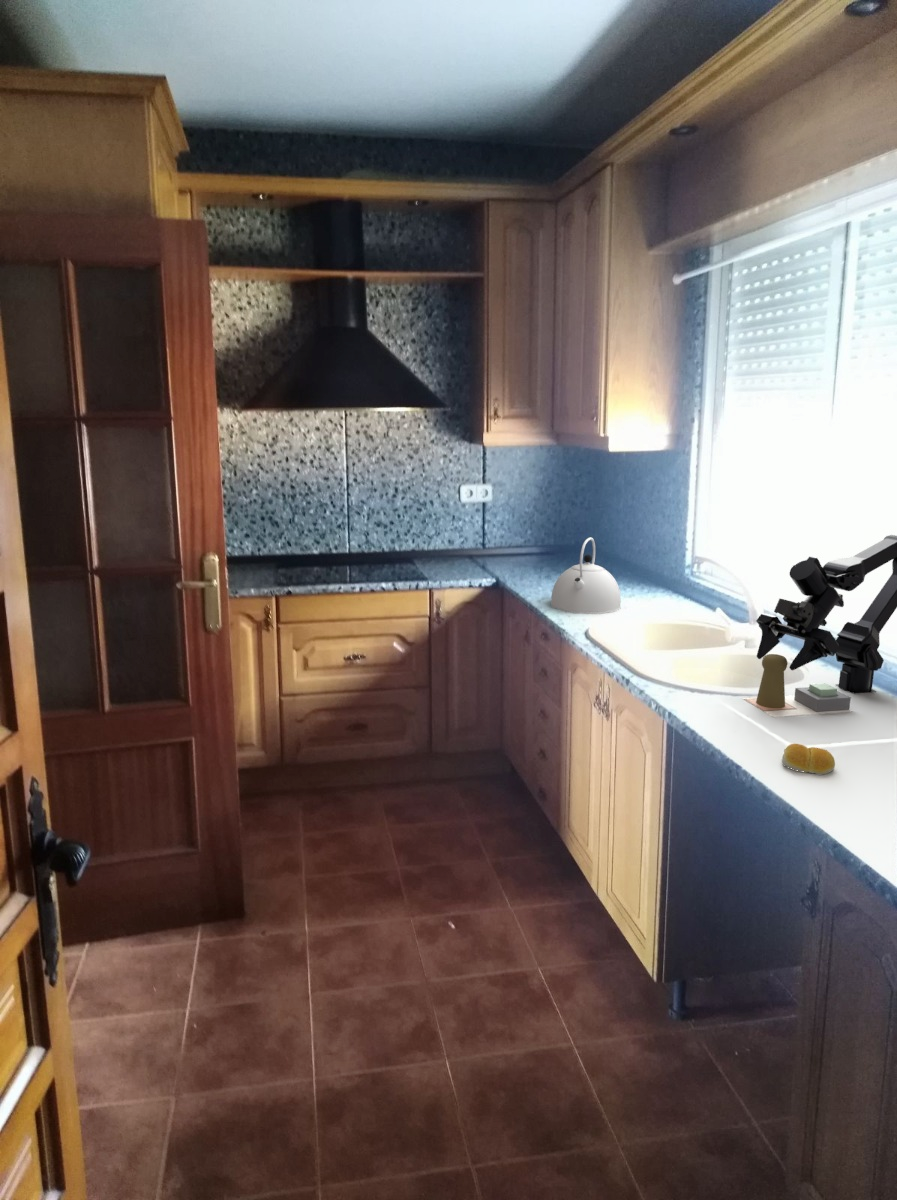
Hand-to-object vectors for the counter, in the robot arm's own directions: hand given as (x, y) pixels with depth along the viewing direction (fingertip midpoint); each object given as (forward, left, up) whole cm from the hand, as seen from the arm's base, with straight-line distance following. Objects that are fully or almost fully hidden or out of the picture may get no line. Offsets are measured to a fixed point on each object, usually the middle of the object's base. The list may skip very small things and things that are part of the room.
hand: (774, 663), depth 190 cm
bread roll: (+12, +30, -10) cm, 34 cm away
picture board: (-5, +1, -10) cm, 11 cm away
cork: (0, 0, -9) cm, 9 cm away
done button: (-11, +2, -7) cm, 14 cm away
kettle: (+4, -100, -10) cm, 101 cm away
